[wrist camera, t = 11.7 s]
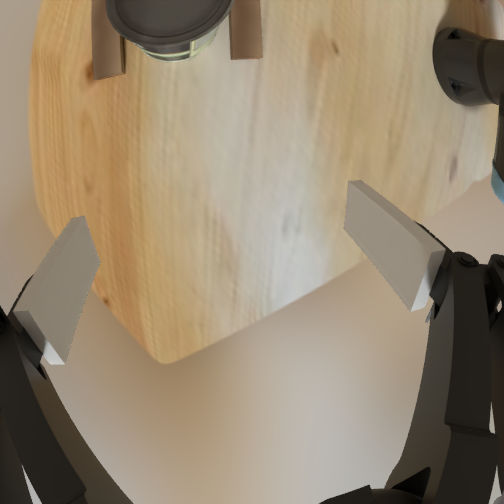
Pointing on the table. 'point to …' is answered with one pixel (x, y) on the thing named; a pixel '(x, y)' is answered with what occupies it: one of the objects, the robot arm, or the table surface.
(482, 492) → the robot arm
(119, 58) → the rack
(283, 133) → the table surface
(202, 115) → the table surface
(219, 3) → the coffee can
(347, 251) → the table surface
